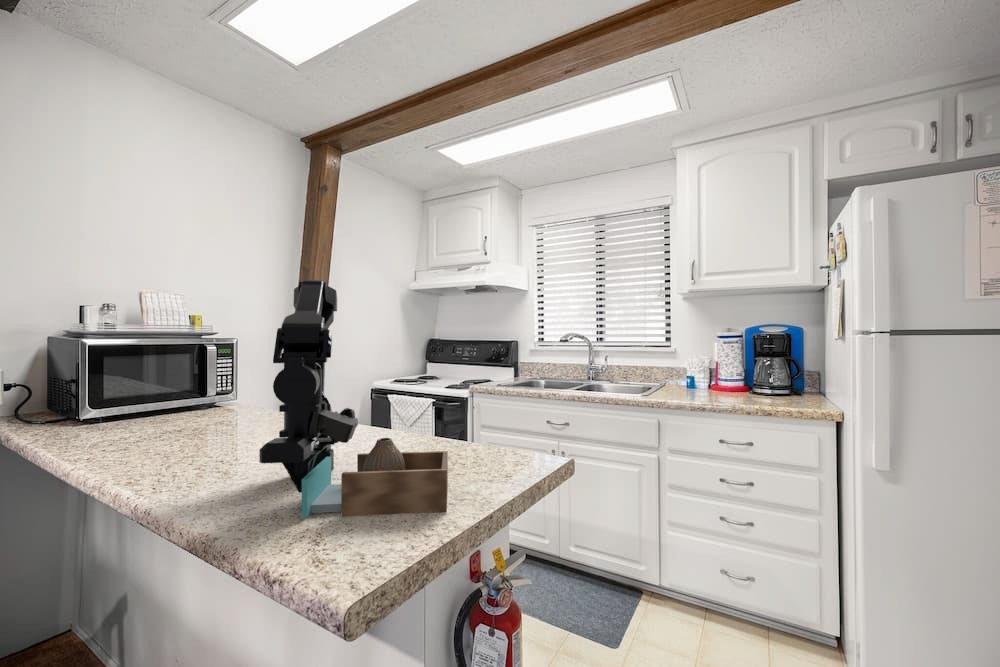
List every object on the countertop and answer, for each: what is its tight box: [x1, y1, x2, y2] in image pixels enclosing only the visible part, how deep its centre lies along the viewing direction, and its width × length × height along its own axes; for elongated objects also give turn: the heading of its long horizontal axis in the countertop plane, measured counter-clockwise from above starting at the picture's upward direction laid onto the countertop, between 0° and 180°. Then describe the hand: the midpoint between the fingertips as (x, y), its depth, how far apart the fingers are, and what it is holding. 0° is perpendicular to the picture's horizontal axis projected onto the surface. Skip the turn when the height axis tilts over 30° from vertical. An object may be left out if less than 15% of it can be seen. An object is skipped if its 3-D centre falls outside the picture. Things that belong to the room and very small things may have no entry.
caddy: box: [340, 450, 449, 517], centre depth 74 cm, size 16×12×6 cm
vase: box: [363, 437, 405, 472], centre depth 74 cm, size 7×7×9 cm
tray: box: [301, 457, 341, 518], centre depth 73 cm, size 16×13×6 cm
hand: (302, 491), depth 72 cm, fingers closed
